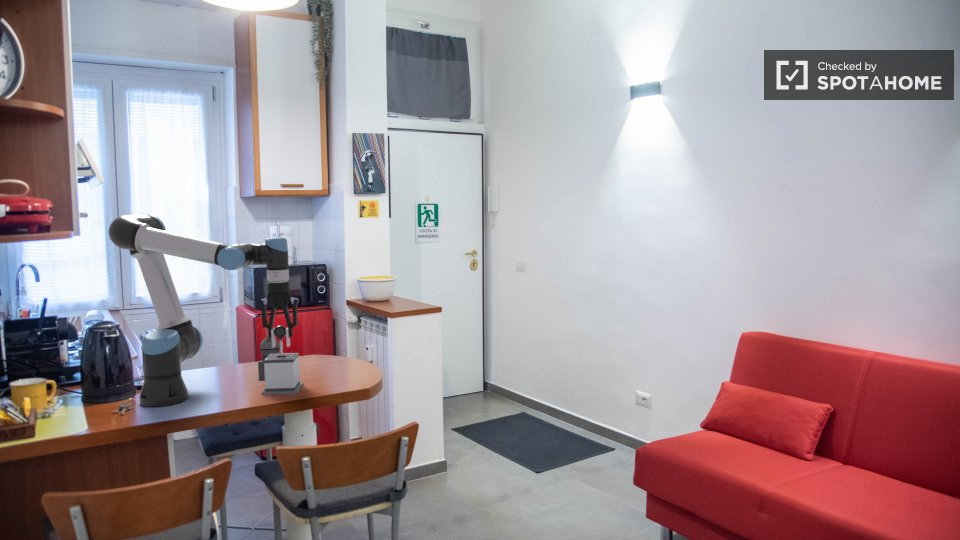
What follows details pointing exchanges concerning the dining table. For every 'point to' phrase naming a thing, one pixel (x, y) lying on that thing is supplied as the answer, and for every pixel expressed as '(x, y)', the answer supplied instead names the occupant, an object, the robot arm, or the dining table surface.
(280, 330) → the lever with ball knob
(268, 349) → the beverage cup
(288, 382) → the grey cube on plate
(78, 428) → the dining table surface
